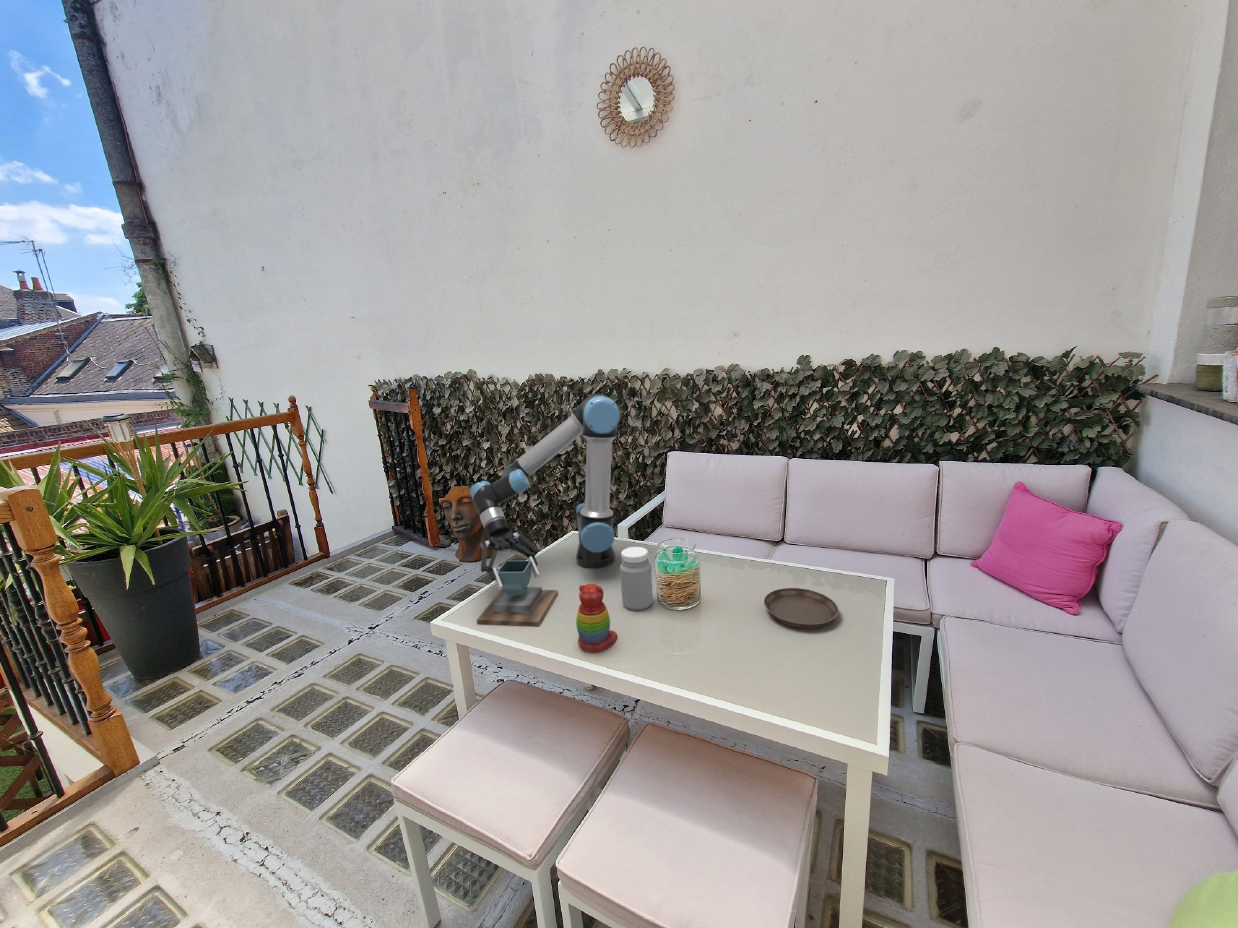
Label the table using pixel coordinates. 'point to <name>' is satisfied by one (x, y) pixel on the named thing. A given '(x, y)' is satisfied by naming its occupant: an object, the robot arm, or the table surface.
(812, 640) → the table surface
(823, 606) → the plant saucer
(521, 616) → the build base
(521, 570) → the flower pot
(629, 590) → the jar
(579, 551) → the robot arm
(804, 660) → the table surface
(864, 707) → the table surface
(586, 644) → the stacking bear
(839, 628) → the table surface
